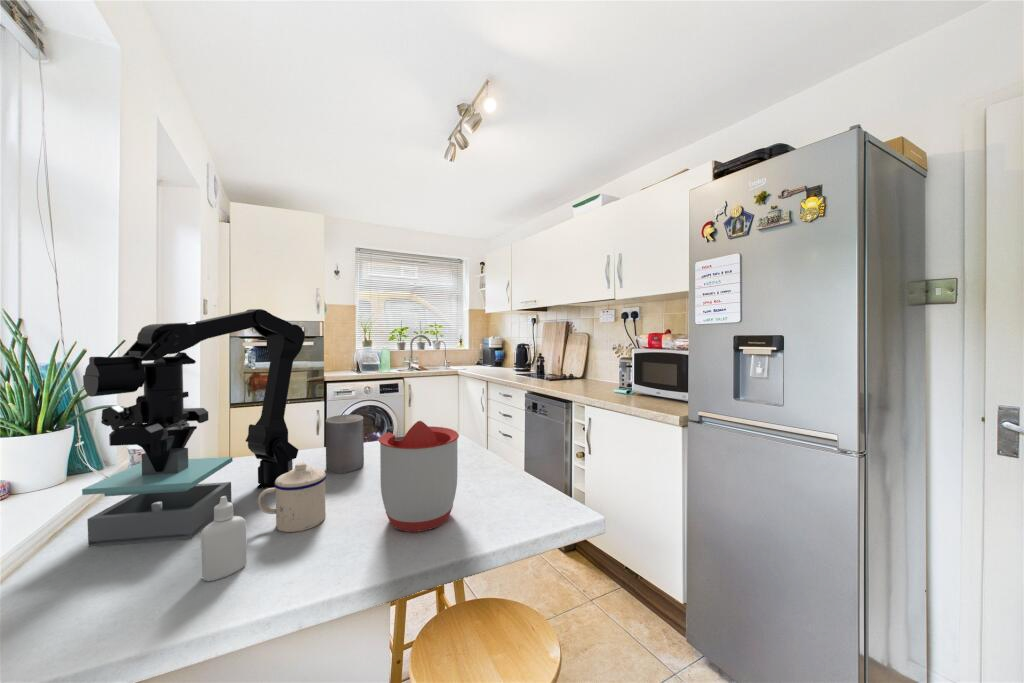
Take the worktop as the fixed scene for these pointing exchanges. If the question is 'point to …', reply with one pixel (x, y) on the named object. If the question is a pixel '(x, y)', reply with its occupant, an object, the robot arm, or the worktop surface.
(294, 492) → the teacup with lid
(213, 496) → the tub
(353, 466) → the pillar candle
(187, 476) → the lid
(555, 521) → the worktop surface
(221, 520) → the eye dropper bottle
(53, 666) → the worktop surface
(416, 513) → the citrus juicer
